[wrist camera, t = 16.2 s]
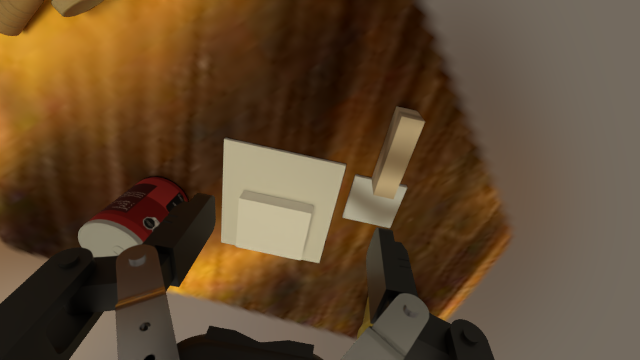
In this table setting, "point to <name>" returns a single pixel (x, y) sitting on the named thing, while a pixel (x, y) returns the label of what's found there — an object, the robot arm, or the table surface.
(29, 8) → the kendama
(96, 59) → the table surface
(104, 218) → the canned food
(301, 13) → the table surface
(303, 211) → the tile
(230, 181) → the mat
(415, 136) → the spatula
